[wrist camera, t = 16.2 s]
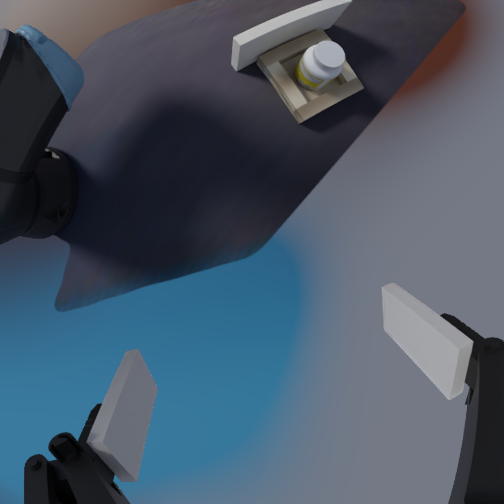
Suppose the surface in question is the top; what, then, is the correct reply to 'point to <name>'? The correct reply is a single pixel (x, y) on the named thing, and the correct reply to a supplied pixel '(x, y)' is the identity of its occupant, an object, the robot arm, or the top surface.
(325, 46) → the supplement bottle
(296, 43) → the birch socket block
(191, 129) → the top surface
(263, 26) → the white backstop wall
